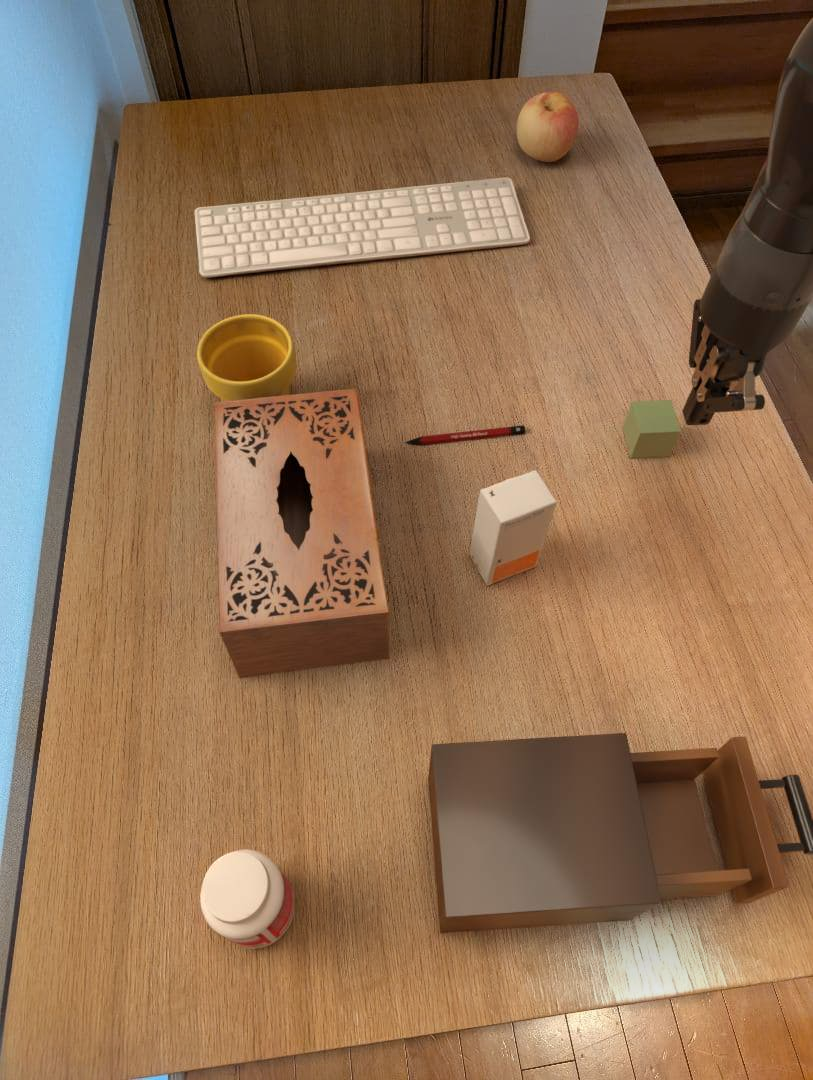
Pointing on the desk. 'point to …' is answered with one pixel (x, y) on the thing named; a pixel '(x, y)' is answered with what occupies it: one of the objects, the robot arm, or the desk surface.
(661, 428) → the block
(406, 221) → the keyboard
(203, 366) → the flower pot
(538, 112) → the apple
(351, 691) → the desk surface
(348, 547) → the tissue box cover
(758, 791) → the drawer
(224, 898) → the pill bottle
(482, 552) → the cosmetic box
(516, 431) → the pencil
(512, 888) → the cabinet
